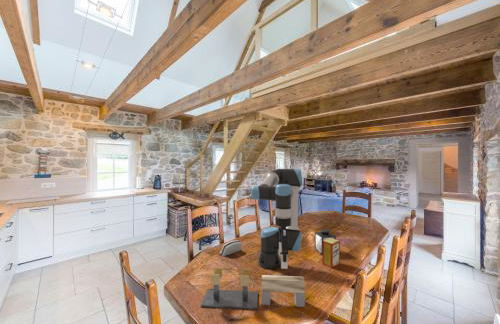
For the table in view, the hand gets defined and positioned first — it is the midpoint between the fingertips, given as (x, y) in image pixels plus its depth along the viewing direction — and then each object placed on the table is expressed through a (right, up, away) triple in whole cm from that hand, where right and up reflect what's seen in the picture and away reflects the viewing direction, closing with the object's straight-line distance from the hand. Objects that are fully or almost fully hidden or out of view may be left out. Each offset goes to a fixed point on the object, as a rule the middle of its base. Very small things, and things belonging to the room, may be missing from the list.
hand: (282, 261), depth 99 cm
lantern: (+42, -21, +59) cm, 76 cm away
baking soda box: (+38, -21, +38) cm, 58 cm away
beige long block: (0, -13, 0) cm, 13 cm away
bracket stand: (-25, -19, +1) cm, 32 cm away
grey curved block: (-30, -21, +56) cm, 66 cm away
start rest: (0, -19, 0) cm, 19 cm away
